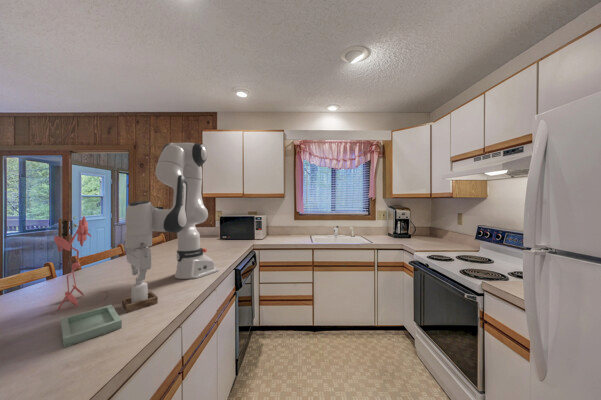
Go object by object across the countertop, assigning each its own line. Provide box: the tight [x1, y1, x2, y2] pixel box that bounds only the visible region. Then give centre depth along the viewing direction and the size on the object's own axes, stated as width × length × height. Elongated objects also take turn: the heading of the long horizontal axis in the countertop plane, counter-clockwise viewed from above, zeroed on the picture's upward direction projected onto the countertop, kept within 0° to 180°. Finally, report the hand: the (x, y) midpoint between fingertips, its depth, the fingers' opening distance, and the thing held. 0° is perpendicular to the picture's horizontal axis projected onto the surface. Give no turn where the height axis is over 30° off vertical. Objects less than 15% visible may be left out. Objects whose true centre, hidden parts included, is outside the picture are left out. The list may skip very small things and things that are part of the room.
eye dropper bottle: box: [130, 273, 149, 304], centre depth 90 cm, size 4×6×12 cm
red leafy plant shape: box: [51, 216, 109, 316], centre depth 95 cm, size 15×26×35 cm, turn 33°
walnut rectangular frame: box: [121, 291, 159, 313], centre depth 90 cm, size 10×8×2 cm
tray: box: [60, 304, 123, 349], centre depth 74 cm, size 17×13×2 cm
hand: (138, 277), depth 90 cm, fingers open, 8 cm apart
